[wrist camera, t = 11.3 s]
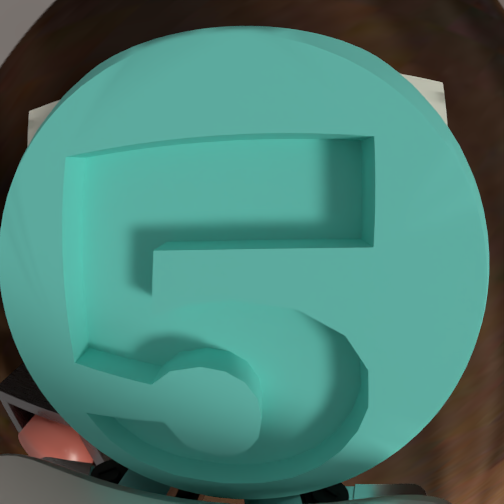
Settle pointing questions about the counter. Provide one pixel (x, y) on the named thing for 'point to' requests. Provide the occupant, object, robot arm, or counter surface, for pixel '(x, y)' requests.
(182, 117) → the decorative dice
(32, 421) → the button
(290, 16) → the counter surface
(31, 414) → the button collar
